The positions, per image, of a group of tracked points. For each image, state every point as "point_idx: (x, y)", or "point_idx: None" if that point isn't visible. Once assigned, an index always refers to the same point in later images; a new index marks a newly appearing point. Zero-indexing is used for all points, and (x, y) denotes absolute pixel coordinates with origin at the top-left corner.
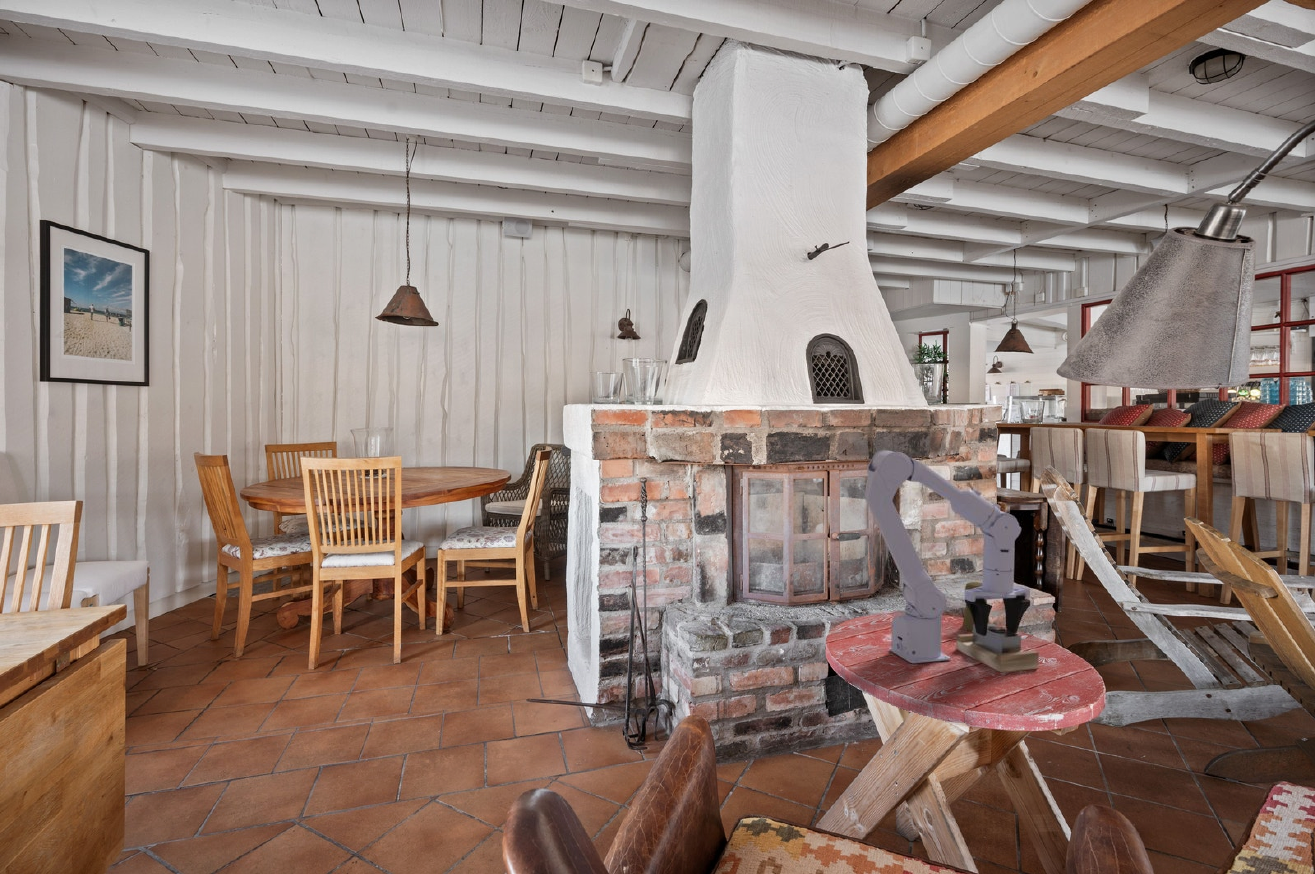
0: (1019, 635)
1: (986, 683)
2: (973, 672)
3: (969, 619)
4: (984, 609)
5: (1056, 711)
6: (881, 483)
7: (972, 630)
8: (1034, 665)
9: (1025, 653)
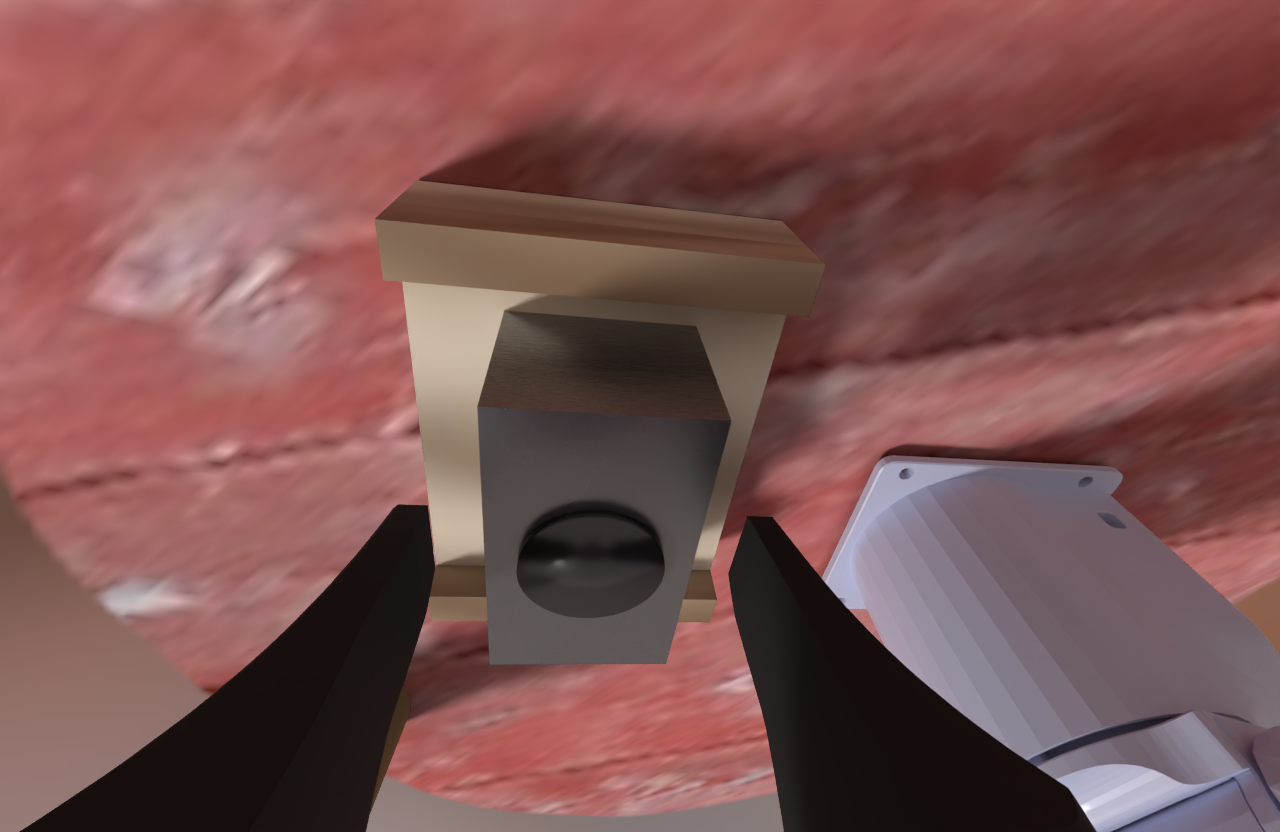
0: (486, 417)
1: (1099, 87)
2: (954, 280)
3: (383, 752)
4: (1022, 774)
5: None
6: None
7: None
8: (454, 190)
9: (539, 243)
